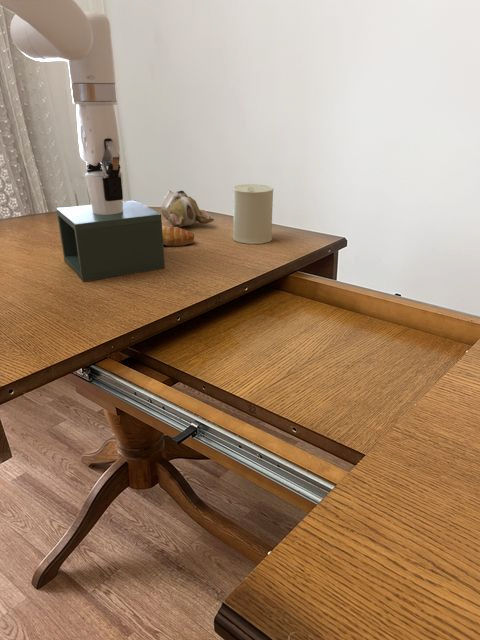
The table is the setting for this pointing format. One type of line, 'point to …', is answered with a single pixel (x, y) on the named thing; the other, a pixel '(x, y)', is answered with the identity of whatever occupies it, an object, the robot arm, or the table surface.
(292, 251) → the table surface
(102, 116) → the robot arm
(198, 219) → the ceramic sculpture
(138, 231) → the box
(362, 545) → the table surface
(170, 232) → the pastry
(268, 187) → the can
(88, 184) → the white cup
